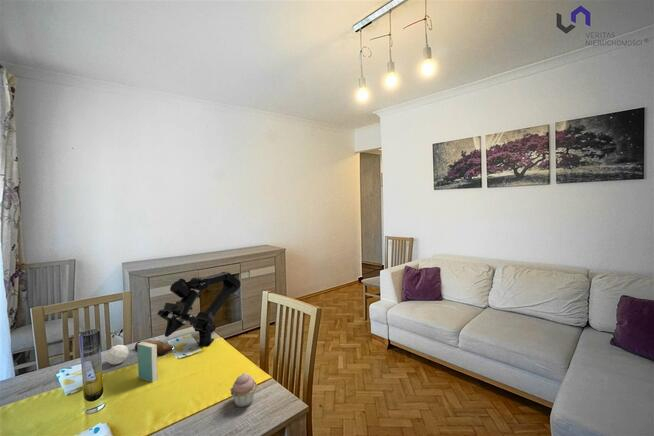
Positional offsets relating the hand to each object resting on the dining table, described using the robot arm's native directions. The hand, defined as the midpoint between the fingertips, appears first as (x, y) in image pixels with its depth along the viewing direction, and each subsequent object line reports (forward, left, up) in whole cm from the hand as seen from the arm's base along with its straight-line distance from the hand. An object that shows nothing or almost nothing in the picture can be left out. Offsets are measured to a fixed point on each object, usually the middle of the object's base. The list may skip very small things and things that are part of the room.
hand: (165, 336), depth 117 cm
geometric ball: (-3, -23, -13) cm, 27 cm away
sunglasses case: (-15, -14, -14) cm, 25 cm away
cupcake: (+21, +39, -13) cm, 46 cm away
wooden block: (+8, -3, -13) cm, 16 cm away
